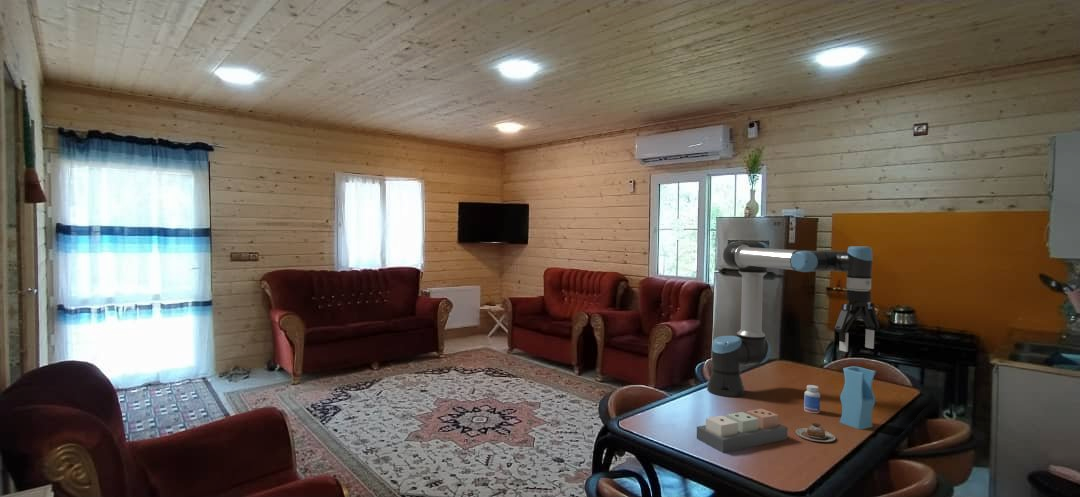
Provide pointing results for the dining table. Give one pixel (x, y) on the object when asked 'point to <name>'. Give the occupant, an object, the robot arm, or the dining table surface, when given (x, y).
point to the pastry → (815, 433)
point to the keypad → (742, 438)
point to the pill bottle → (812, 399)
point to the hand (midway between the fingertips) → (856, 349)
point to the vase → (857, 397)
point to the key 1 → (721, 426)
